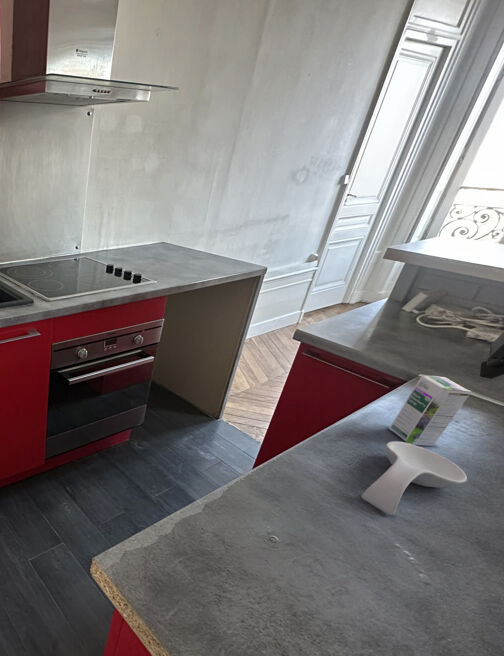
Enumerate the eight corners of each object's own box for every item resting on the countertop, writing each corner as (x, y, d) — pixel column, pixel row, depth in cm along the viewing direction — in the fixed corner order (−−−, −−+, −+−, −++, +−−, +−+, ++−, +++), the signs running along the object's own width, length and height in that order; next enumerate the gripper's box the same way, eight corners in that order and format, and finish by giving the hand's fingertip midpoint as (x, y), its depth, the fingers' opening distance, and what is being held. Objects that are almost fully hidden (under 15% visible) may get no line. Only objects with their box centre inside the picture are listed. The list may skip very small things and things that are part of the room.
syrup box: (387, 428, 94) (419, 374, 88) (412, 429, 94) (446, 376, 88) (409, 445, 89) (445, 389, 83) (435, 446, 89) (473, 390, 83)
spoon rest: (391, 447, 88) (407, 420, 85) (465, 484, 79) (487, 456, 76) (338, 487, 77) (355, 458, 74) (418, 535, 68) (441, 504, 65)
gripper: (545, 330, 56) (436, 379, 76) (696, 356, 50) (535, 401, 71) (549, 282, 57) (441, 343, 78) (695, 302, 52) (538, 362, 73)
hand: (486, 370), depth 75 cm, fingers closed
